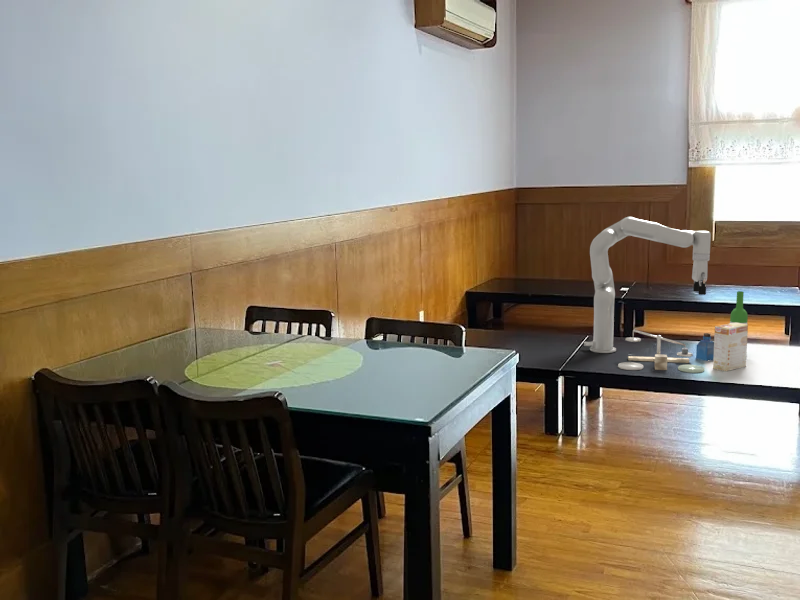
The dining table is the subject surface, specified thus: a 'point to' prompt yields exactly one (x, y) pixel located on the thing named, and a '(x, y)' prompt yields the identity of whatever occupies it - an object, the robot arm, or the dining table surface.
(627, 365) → the white dish
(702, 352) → the perfume bottle
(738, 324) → the coffeecake box
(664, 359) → the birch block
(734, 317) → the wine bottle
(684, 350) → the balance scale
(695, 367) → the sage dish
